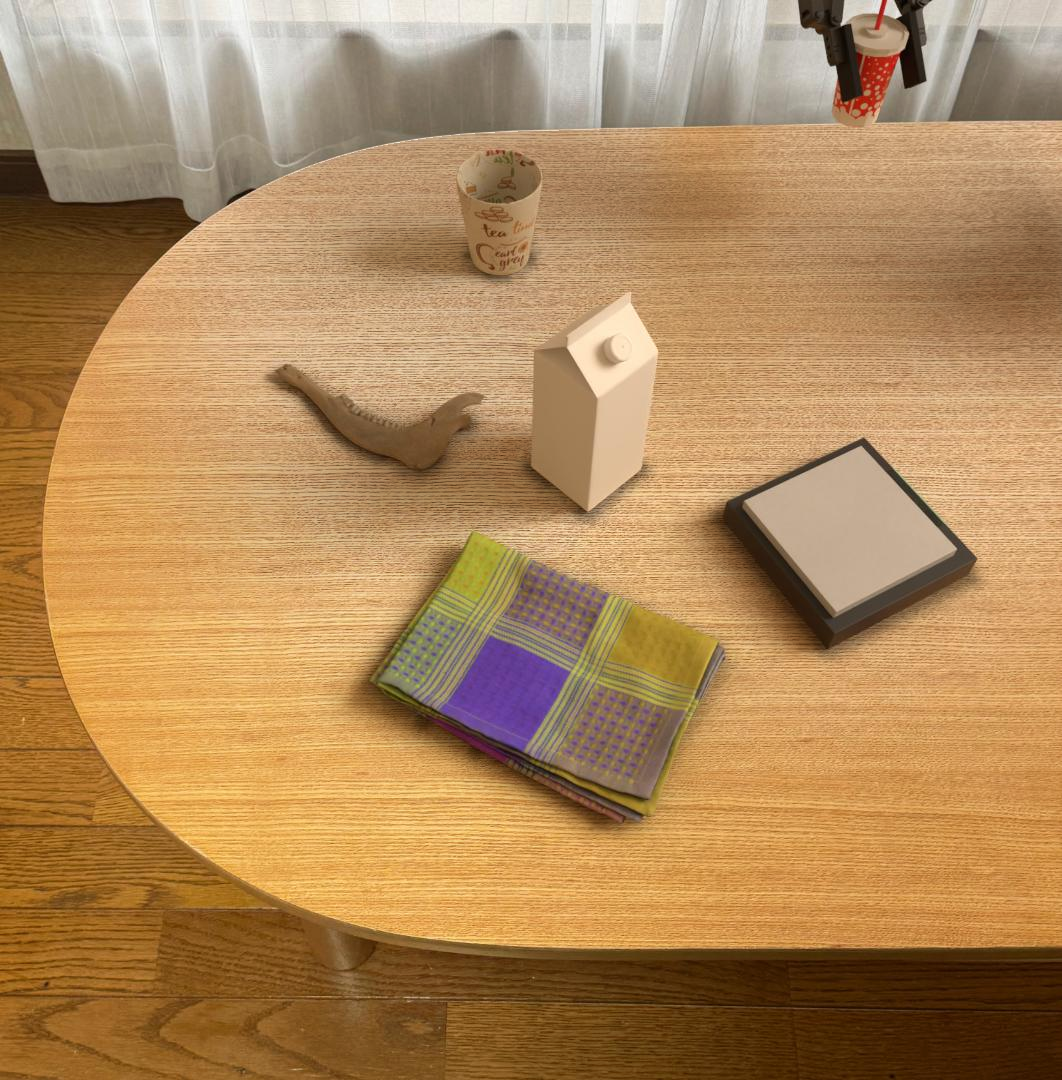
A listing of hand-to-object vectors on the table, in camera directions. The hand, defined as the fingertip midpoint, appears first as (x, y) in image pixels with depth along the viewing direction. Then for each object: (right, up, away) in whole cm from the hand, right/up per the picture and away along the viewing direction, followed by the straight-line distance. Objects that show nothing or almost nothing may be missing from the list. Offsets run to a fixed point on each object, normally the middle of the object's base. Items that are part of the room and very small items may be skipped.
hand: (884, 91), depth 113 cm
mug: (-37, -12, +10) cm, 40 cm away
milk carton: (-29, -37, -7) cm, 47 cm away
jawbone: (-48, -30, -3) cm, 56 cm away
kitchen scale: (-7, -44, -12) cm, 46 cm away
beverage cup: (-1, 0, +6) cm, 6 cm away
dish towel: (-32, -54, -19) cm, 66 cm away
